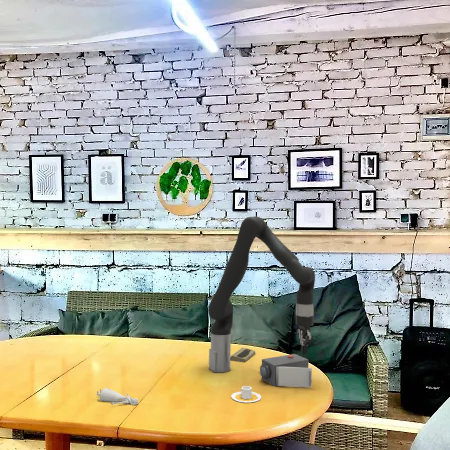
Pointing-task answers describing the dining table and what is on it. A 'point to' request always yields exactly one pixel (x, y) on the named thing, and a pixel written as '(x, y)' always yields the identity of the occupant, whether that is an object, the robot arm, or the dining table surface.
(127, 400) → the woman figurine
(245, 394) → the candle holder
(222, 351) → the robot arm
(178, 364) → the dining table surface
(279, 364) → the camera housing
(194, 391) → the dining table surface
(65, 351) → the dining table surface
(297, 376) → the side door
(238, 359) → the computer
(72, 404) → the dining table surface
